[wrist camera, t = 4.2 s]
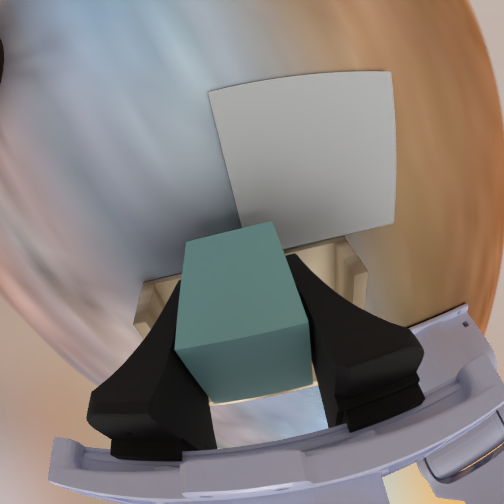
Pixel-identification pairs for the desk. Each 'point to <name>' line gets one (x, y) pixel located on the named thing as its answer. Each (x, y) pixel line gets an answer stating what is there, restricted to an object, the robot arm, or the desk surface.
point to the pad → (310, 152)
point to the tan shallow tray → (313, 255)
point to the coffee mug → (1, 60)
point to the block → (242, 316)
